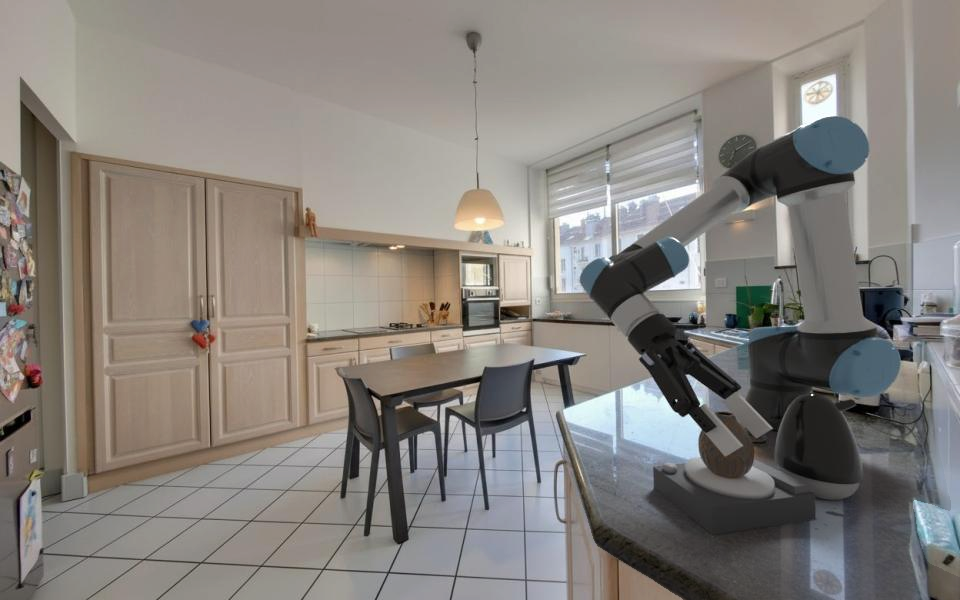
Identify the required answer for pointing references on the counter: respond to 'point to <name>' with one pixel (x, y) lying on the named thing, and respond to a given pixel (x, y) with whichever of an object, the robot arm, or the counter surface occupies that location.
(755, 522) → the turntable with oval dome
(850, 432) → the pump dispenser
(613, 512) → the counter surface
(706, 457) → the vase
